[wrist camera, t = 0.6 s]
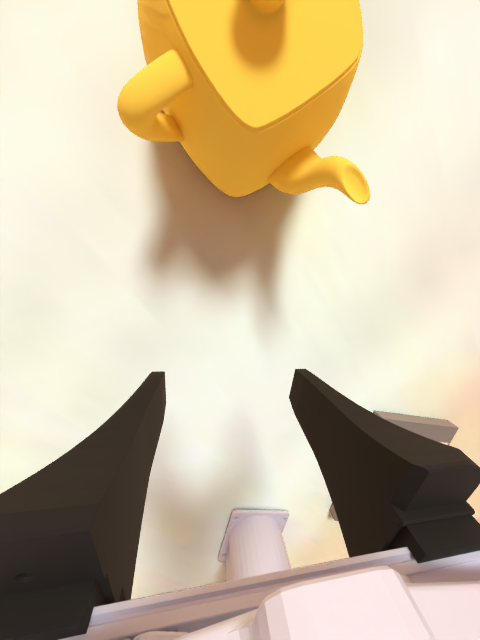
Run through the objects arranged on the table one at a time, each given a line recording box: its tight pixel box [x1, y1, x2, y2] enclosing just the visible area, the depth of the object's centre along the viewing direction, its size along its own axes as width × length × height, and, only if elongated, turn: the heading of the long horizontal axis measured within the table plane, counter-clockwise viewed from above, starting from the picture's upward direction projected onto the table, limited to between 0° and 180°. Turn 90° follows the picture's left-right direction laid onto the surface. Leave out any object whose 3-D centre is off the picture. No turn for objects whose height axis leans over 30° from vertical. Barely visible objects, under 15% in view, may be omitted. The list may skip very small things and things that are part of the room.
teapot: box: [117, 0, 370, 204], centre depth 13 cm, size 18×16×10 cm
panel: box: [330, 411, 458, 521], centre depth 29 cm, size 17×12×5 cm
